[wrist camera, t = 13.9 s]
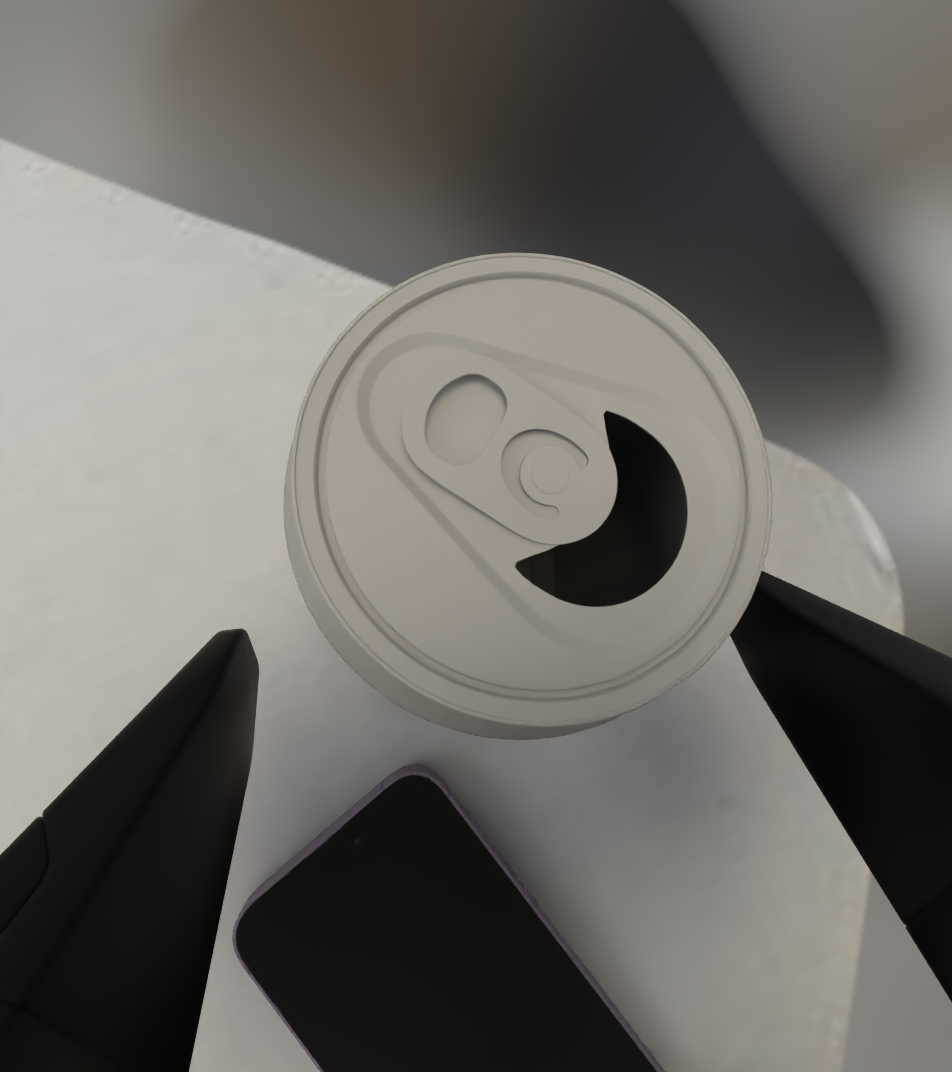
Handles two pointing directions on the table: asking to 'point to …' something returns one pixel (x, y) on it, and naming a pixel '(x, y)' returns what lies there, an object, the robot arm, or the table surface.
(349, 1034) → the smartphone
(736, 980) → the table surface
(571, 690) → the beverage can
